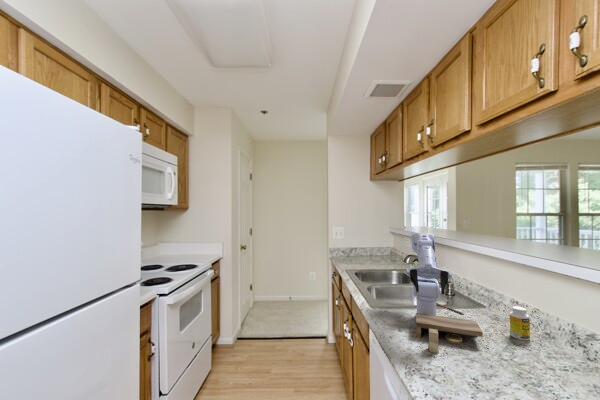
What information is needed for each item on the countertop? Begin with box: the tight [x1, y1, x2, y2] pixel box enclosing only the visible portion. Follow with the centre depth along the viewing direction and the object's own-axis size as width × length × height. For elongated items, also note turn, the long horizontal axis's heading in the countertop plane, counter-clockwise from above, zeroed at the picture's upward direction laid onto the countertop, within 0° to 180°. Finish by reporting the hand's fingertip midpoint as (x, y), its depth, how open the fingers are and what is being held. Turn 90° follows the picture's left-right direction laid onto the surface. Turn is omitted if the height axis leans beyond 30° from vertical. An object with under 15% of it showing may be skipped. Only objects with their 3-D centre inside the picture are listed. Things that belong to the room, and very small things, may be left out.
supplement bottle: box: [509, 306, 531, 341], centre depth 97 cm, size 6×6×10 cm
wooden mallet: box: [428, 329, 440, 354], centre depth 92 cm, size 13×3×6 cm, turn 158°
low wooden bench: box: [415, 312, 484, 339], centre depth 97 cm, size 10×20×5 cm, turn 68°
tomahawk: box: [436, 302, 465, 316], centre depth 128 cm, size 20×7×1 cm, turn 21°
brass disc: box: [445, 333, 463, 344], centre depth 95 cm, size 5×5×1 cm
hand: (430, 291), depth 91 cm, fingers open, 7 cm apart
